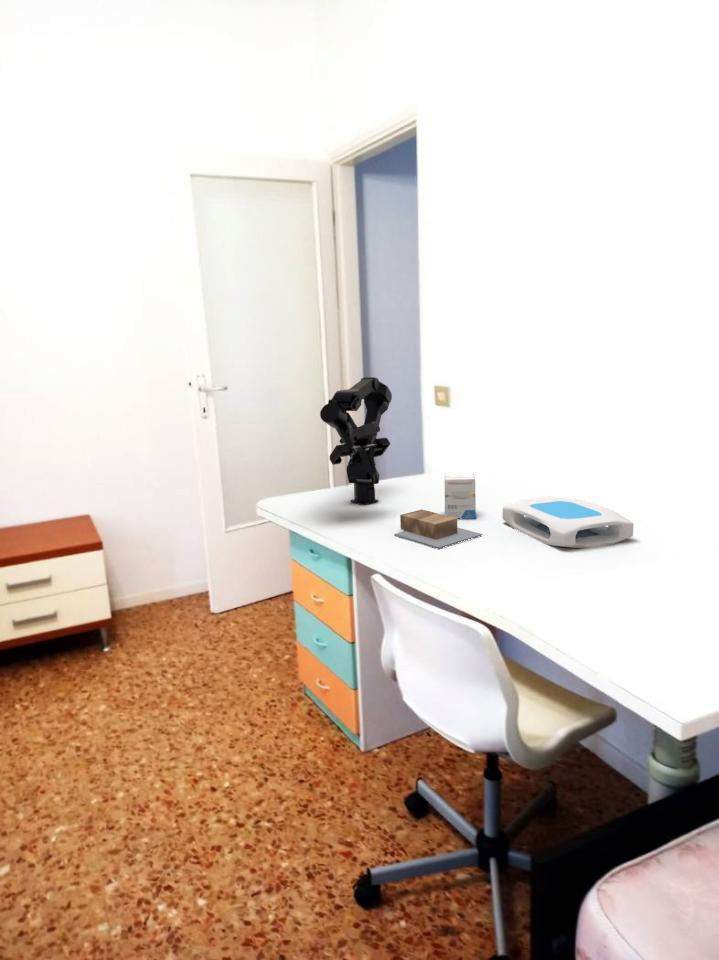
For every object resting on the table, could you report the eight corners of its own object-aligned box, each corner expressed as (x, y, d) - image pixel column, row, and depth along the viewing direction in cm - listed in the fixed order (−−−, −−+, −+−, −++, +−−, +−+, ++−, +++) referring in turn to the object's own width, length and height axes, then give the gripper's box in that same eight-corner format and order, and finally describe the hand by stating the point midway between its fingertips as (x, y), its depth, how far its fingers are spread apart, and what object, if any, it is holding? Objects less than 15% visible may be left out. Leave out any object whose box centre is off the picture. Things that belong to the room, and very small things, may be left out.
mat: (394, 535, 180) (394, 533, 180) (437, 523, 190) (437, 522, 190) (438, 549, 168) (438, 547, 168) (482, 535, 178) (482, 533, 178)
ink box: (474, 511, 202) (474, 472, 200) (475, 519, 194) (476, 478, 192) (444, 511, 203) (444, 472, 201) (444, 519, 195) (444, 478, 192)
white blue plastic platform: (566, 515, 196) (566, 493, 195) (634, 541, 170) (636, 517, 169) (500, 523, 190) (501, 501, 188) (561, 552, 164) (562, 527, 163)
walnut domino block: (400, 514, 184) (435, 524, 174) (422, 509, 188) (457, 518, 179) (400, 529, 184) (435, 539, 175) (422, 523, 189) (457, 533, 179)
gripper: (334, 416, 187) (361, 461, 181) (385, 409, 198) (412, 452, 192) (317, 442, 194) (343, 486, 188) (368, 434, 206) (394, 475, 200)
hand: (374, 474), depth 192 cm, fingers closed
